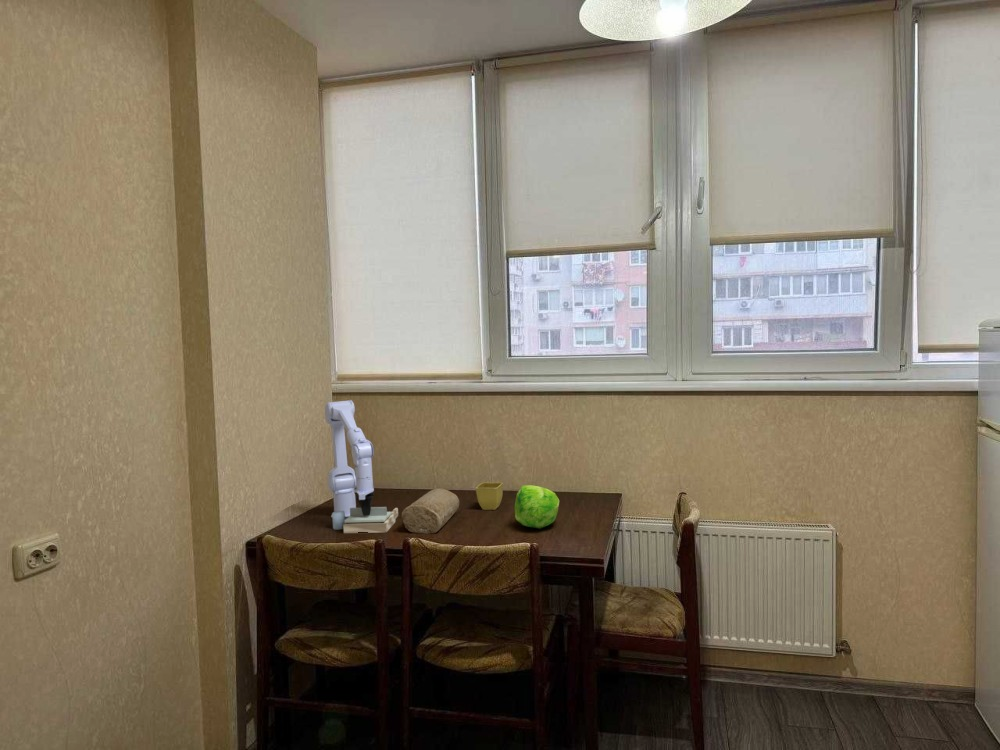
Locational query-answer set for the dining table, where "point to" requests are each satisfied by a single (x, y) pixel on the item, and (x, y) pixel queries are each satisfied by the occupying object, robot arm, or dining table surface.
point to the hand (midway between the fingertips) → (366, 515)
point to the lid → (375, 515)
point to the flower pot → (489, 495)
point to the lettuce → (536, 506)
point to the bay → (372, 525)
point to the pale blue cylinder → (338, 519)
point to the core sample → (430, 511)
